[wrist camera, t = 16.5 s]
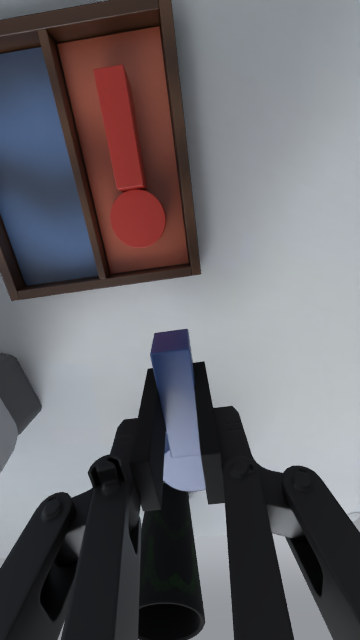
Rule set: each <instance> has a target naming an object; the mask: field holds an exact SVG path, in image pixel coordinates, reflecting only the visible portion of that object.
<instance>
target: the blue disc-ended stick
mask: <svg viewBox="0 0 360 640" xmlns="http://www.w3.org/2000/svg"><path fill="white" fill-rule="evenodd" d="M150 357H151V361H152V366H153V371H154V376H155V381H156V386H157V389H158V394H159V399H160V404H161V408H162V413H163V418H164V423H165V428H166V436H165V454H164V471H163V481H164V482H165V483H166V484H168V485H169V486H171V487H173V488H175V489H178V490H181V491H188V492H194V491H201V490H205V489H206V487H205V480H204V474H203V467H202V461H201V454H200V443H199V433H198V422H197V412H196V401H195V391H194V385H195V379H194V370H193V361H192V354H191V347H190V339H189V332H188V329H182V330H174V331H167V332H160V333H155V334H154V338H153V343H152V348H151V353H150Z"/></svg>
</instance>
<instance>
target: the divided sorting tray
mask: <svg viewBox="0 0 360 640" xmlns="http://www.w3.org/2000/svg"><path fill="white" fill-rule="evenodd" d="M121 64H123V65H124V68H125V70H126V73H127V76H128V79H129V82H130V86H131V93H132V99H133V105H134V111H135V117H136V123H137V129H138V136H139V142H140V148H141V154H142V160H143V166H144V173H145V179H146V185H147V189H146V190H145V191H148V192H149V193H151V194H153V195H154V196H155V197H156V198H157V199H158V200H159V201H160V203H161V204H162V206H163V208H164V210H165V214H166V226H165V230H164V232H163V234H162V236H161V237H160V238H159V239H158V240H157V241H156V242H155V243H154V244H152V245H151V246H148V247H145V248H134V247H130V246H128V245H126V244H124V243H123V242H122V241H121V240H119V238H118V237H117V236H116V235H115V233H114V231H113V229H112V226H111V221H110V212H111V208H112V205H113V203H114V201H115V200H116V198H117V197H118V196H119V195H121V194H122V193H123V192H121V191H119V190H118V189H117V187H116V182H115V177H114V172H113V167H112V162H111V157H110V152H109V147H108V142H107V137H106V132H105V127H104V122H103V117H102V112H101V107H100V102H99V97H98V92H97V87H96V82H95V77H94V72H93V69H97V68H103V67H109V66H115V65H121ZM0 272H1V275H2V277H3V280H4V283H5V285H6V288H7V290H8V293H9V296H10V298H11V301H14V300H20V299H28V298H35V297H43V296H50V295H57V294H64V293H71V292H78V291H86V290H93V289H100V288H107V287H114V286H121V285H129V284H136V283H143V282H150V281H157V280H164V279H172V278H179V277H186V276H192V275H200V274H201V269H200V259H199V250H198V241H197V232H196V223H195V214H194V205H193V195H192V186H191V177H190V168H189V159H188V150H187V140H186V131H185V122H184V113H183V104H182V95H181V85H180V76H179V67H178V58H177V49H176V40H175V31H174V21H173V12H172V3H171V0H108V1H103V2H97V3H92V4H86V5H81V6H75V7H69V8H64V9H58V10H53V11H47V12H42V13H36V14H30V15H25V16H19V17H14V18H8V19H3V20H0Z"/></svg>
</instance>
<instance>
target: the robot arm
mask: <svg viewBox="0 0 360 640" xmlns="http://www.w3.org/2000/svg"><path fill="white" fill-rule="evenodd" d="M193 370H194V379H195V385H194V391H195V401H196V412H197V422H198V433H199V443H200V454H201V461H202V467H203V474H204V480H205V487H206V493H207V499H208V505H209V504H218V503H225V510H226V525H227V538H228V555H229V570H230V584H231V598H232V613H233V629H234V640H294V637H293V632H292V628H291V622H290V618H289V613H288V609H287V603H286V599H285V594H284V589H283V584H282V579H281V574H280V570H279V565H278V560H277V555H276V550H275V546H274V541H273V536H272V533H274V534H277V535H281V536H285V537H286V540H287V542H288V544H289V546H290V548H291V550H292V552H293V555H294V557H295V559H296V561H297V563H298V565H299V567H300V570H301V572H302V574H303V576H304V578H305V580H306V582H307V585H308V587H309V589H310V591H311V593H312V595H313V597H314V599H315V602H316V603H317V606H318V608H319V610H320V612H321V614H322V617H323V618H324V621H325V623H326V625H327V627H328V629H329V631H330V634H331V636H332V638H333V640H360V532H359V531H358V530H357V528H356V527H355V525H354V524H353V523H352V521H351V520H350V518H349V517H348V516H347V514H346V513H345V511H344V510H343V509H342V507H341V506H340V504H339V503H338V502H337V500H336V499H335V497H334V496H333V495H332V493H331V492H330V490H329V489H328V488H327V486H326V485H325V483H324V482H323V481H322V479H321V478H320V477H319V476H318V475H317V474H316V473H315V472H314V471H312V470H311V469H309V468H307V467H303V466H291V467H289V468H287V469H286V470H285V471H284V473H280V472H275V471H271V470H267V469H265V468H263V467H261V466H260V465H259V464H257V463H256V461H255V460H254V459H253V457H252V454H251V451H250V448H249V445H248V441H247V438H246V435H245V432H244V429H243V425H242V423H241V419H240V416H239V413H238V412H237V410H236V409H235V408H234V407H233V406H227V407H219V408H213V406H212V400H211V395H210V389H209V384H208V378H207V373H206V367H205V362H197V363H193ZM165 436H166V428H165V423H164V418H163V413H162V408H161V404H160V399H159V394H158V389H157V386H156V381H155V376H154V371H153V368H150V369H148V371H147V376H146V380H145V385H144V390H143V395H142V400H141V405H140V410H139V415H138V418H134V419H125V420H123V421H122V423H121V424H120V425H119V427H118V428H117V432H116V435H115V439H114V442H113V446H112V449H111V453H110V455H106V456H103V457H101V458H99V459H98V460H96V461H95V462H94V463H93V464H92V466H91V467H90V469H89V471H88V475H89V478H90V480H91V483H92V486H93V488H92V489H90V490H88V491H87V492H84V493H82V494H80V495H77V496H75V497H73V498H71V497H70V495H69V494H68V493H64V492H60V493H55V494H53V495H51V496H49V497H48V498H46V499H45V500H44V501H43V502H42V503H41V504H40V505H39V507H38V508H37V509H36V511H35V512H34V514H33V516H32V517H31V519H30V521H29V522H28V524H27V525H26V527H25V529H24V530H23V532H22V534H21V535H20V537H19V539H18V540H17V542H16V543H15V545H14V547H13V548H12V550H11V552H10V553H9V555H8V557H7V558H6V560H5V561H4V563H3V565H2V567H1V568H0V640H57V639H58V637H59V634H60V631H61V629H62V626H63V623H64V621H65V624H64V628H63V632H62V637H61V640H138V619H139V587H140V554H141V520H140V517H139V513H140V505H141V506H142V509H143V511H152V510H161V506H162V489H163V471H164V454H165Z"/></svg>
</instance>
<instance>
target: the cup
mask: <svg viewBox="0 0 360 640" xmlns="http://www.w3.org/2000/svg"><path fill="white" fill-rule="evenodd" d="M204 624H205V617H204V609H203V601H202V594H201V587H200V580H199V572H198V565H197V558H196V550H195V543H194V535H193V528H192V521H191V513H190V506H189V499H188V493H187V491H181V490H178V489H175V488H173V487H171V486H169V485H168V484H166V483H163V489H162V506H161V510H152V511H145V512H144V518H143V523H142V528H141V554H140V587H139V619H138V639H139V640H188V639H190V638H193V637H194V636H196V635H197V634H198V633H199V632H200V631H201V630H202V629H203V626H204Z"/></svg>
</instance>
